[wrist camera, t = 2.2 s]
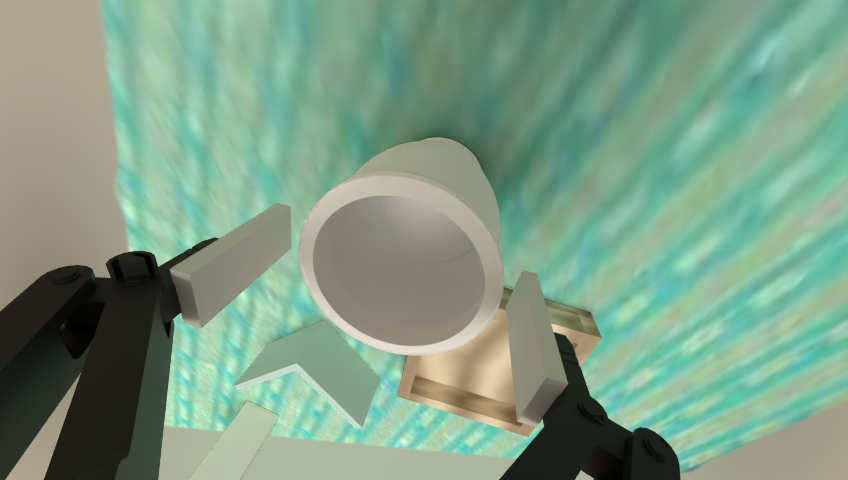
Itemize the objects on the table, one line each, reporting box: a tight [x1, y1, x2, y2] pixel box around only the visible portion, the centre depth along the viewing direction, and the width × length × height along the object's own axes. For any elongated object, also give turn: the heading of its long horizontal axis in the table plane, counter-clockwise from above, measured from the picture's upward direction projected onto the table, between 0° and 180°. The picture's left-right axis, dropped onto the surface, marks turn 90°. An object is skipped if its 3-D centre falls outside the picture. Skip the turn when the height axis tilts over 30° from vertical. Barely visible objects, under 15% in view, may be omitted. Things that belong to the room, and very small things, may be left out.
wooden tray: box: [396, 288, 602, 437], centre depth 35 cm, size 17×18×4 cm
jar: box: [299, 137, 504, 356], centre depth 21 cm, size 11×10×15 cm
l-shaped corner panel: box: [233, 319, 380, 429], centre depth 40 cm, size 12×12×8 cm
